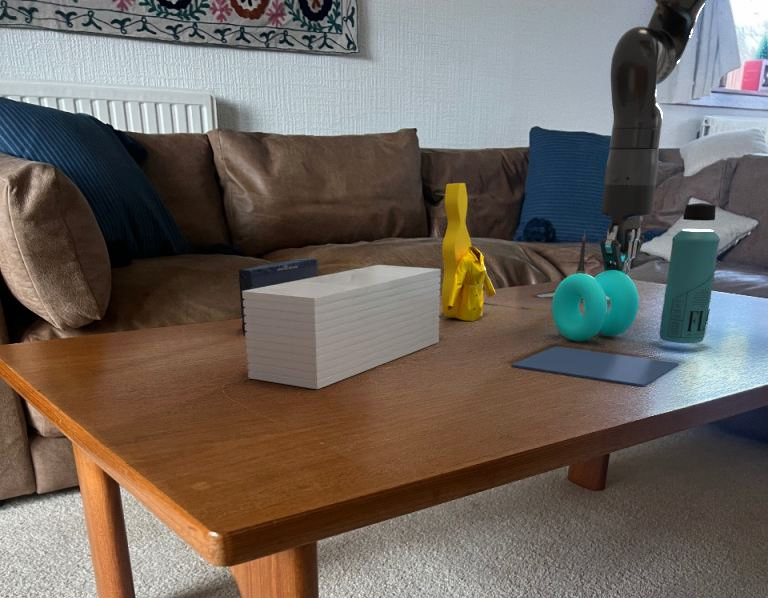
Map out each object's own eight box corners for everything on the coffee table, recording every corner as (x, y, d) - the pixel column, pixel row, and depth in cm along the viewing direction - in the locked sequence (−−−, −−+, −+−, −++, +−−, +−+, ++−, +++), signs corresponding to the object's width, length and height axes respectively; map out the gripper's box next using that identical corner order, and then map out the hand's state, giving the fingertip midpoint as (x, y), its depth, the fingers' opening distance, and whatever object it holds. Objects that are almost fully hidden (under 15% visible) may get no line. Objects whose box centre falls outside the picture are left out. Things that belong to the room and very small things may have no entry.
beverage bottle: (683, 355, 111) (707, 204, 103) (646, 347, 116) (666, 202, 108) (712, 350, 114) (738, 203, 106) (675, 342, 119) (696, 201, 111)
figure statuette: (459, 328, 130) (465, 184, 121) (418, 323, 133) (421, 183, 124) (503, 312, 143) (511, 182, 134) (464, 308, 147) (470, 181, 138)
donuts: (638, 339, 121) (647, 272, 117) (593, 347, 116) (600, 278, 112) (589, 329, 128) (596, 266, 124) (545, 336, 123) (550, 270, 119)
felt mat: (678, 365, 106) (678, 363, 105) (643, 387, 95) (643, 384, 95) (554, 348, 115) (555, 346, 115) (511, 366, 105) (511, 364, 105)
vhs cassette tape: (253, 335, 124) (249, 270, 120) (239, 333, 125) (234, 268, 121) (321, 317, 138) (320, 258, 134) (308, 316, 140) (306, 257, 136)
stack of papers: (317, 389, 94) (314, 297, 89) (248, 378, 99) (242, 290, 94) (438, 342, 119) (440, 268, 114) (378, 335, 124) (378, 264, 119)
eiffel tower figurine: (626, 301, 155) (635, 230, 150) (602, 307, 149) (610, 233, 143) (559, 293, 165) (565, 226, 159) (534, 299, 158) (539, 229, 152)
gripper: (639, 183, 112) (623, 306, 119) (668, 181, 121) (652, 295, 129) (589, 182, 116) (577, 301, 123) (622, 180, 125) (609, 291, 133)
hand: (616, 298), depth 126 cm, fingers closed
